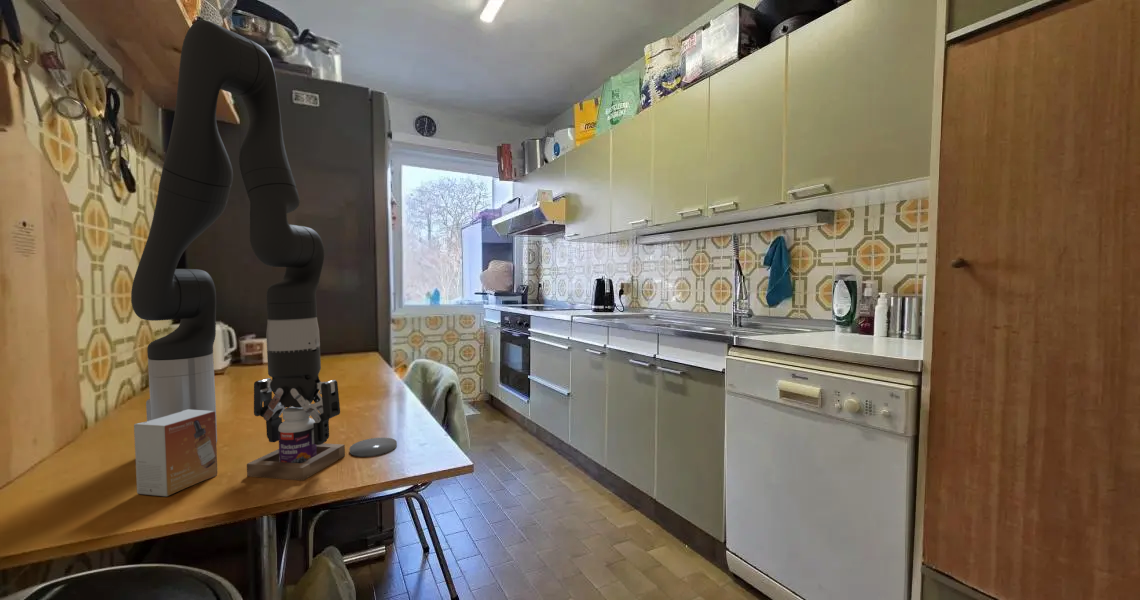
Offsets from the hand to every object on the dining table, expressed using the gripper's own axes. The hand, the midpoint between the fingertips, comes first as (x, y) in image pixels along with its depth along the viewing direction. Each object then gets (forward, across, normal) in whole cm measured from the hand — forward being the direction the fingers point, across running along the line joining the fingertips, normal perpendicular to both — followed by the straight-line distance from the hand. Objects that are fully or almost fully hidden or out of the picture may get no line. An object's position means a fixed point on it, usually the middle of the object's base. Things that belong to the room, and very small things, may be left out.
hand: (298, 442), depth 77 cm
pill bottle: (+4, 0, 0) cm, 4 cm away
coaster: (+4, +8, +9) cm, 13 cm away
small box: (+4, -13, -9) cm, 17 cm away
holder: (+4, 0, 0) cm, 4 cm away
